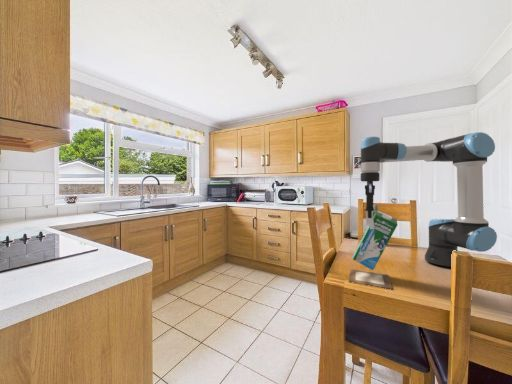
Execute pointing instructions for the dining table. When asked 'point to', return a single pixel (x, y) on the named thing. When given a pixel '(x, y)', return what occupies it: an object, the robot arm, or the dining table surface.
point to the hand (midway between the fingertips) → (369, 225)
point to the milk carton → (375, 240)
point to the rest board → (370, 279)
